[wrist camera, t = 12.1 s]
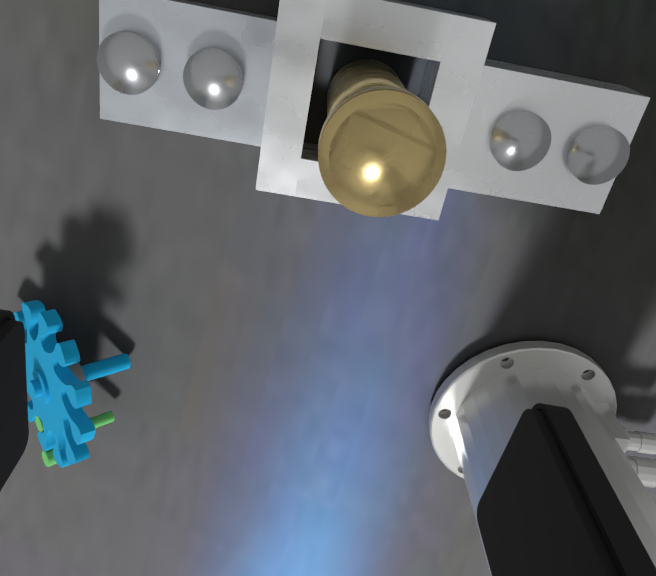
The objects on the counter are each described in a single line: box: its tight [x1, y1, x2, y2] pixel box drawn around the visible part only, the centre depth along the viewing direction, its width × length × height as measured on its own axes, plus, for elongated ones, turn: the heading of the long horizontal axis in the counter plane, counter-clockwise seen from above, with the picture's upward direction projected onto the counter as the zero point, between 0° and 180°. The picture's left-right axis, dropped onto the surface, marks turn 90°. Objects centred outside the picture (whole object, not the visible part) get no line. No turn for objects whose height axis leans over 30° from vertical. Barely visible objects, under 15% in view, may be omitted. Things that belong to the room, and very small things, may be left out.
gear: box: [13, 300, 131, 468], centre depth 37 cm, size 11×6×10 cm
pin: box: [318, 59, 447, 217], centre depth 27 cm, size 5×5×10 cm
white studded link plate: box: [97, 0, 650, 220], centre depth 29 cm, size 26×10×4 cm, turn 80°
